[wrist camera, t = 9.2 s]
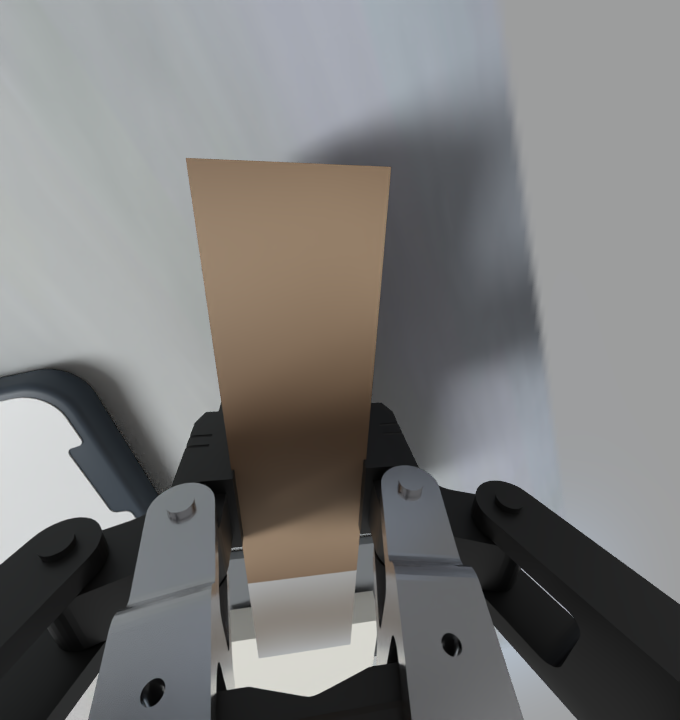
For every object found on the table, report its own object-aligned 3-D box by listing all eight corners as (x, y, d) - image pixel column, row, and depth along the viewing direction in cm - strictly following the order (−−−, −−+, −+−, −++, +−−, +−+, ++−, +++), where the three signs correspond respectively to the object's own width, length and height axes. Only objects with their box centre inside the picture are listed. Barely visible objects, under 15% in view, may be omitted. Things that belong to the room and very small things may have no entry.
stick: (226, 167, 8) (186, 158, 5) (348, 172, 9) (391, 166, 5) (264, 544, 15) (258, 658, 11) (334, 536, 15) (350, 644, 12)
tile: (221, 643, 17) (238, 712, 21) (379, 620, 18) (368, 689, 22) (226, 606, 19) (241, 677, 22) (372, 586, 20) (363, 657, 24)
